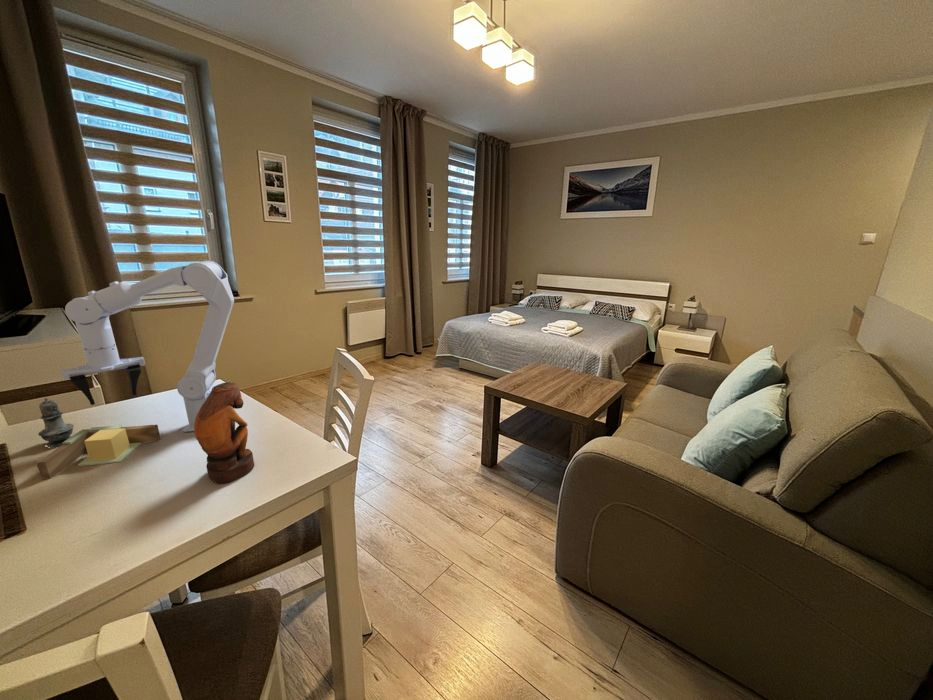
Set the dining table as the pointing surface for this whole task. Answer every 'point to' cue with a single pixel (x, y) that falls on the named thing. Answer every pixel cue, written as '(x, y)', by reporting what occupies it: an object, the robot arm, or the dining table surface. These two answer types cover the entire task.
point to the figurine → (223, 434)
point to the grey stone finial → (54, 424)
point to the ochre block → (107, 444)
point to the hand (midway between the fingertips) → (114, 398)
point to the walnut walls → (77, 448)
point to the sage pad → (118, 459)
